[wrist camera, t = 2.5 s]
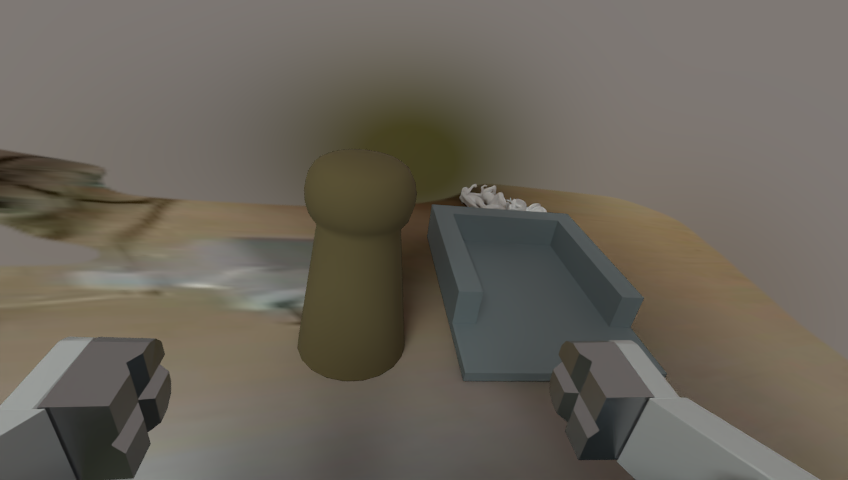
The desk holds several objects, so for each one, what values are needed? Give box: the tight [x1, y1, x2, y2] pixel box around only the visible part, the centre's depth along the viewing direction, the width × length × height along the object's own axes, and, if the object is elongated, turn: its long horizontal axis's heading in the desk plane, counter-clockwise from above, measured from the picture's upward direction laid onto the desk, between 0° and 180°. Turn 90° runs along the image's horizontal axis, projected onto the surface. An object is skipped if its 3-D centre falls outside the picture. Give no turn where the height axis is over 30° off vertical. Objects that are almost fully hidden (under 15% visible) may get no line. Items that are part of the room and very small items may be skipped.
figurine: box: [459, 184, 547, 212], centre depth 43 cm, size 3×8×8 cm
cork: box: [298, 149, 417, 381], centre depth 22 cm, size 6×6×11 cm
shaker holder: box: [427, 205, 667, 381], centre depth 30 cm, size 12×16×3 cm
